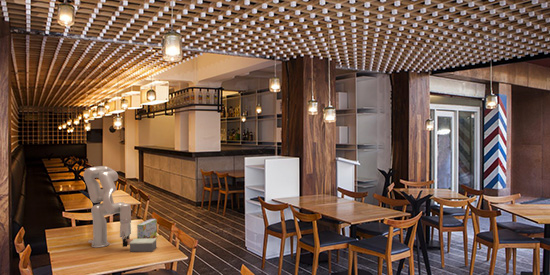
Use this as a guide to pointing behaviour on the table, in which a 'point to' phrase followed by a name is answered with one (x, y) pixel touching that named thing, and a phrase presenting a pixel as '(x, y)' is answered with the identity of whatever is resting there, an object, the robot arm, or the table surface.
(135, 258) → the table surface
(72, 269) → the table surface
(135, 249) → the tub
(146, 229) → the snack box
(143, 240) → the lid
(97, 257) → the table surface
